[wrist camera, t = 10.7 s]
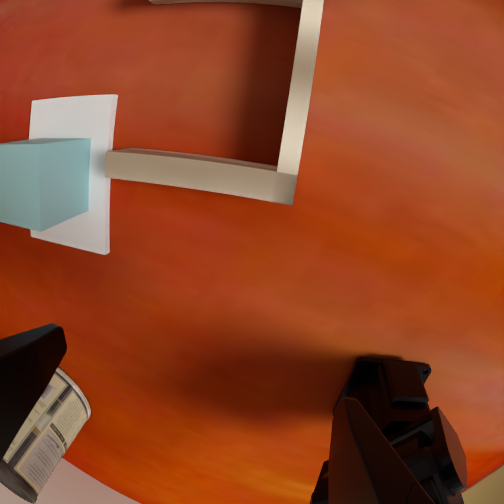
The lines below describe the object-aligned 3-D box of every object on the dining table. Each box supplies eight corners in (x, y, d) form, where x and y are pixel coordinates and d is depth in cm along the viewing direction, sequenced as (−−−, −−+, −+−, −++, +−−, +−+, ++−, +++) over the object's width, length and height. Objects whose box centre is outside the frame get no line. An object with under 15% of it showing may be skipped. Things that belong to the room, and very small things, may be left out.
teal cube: (88, 210, 20) (41, 232, 15) (40, 202, 20) (-6, 220, 16) (91, 138, 18) (40, 144, 14) (41, 137, 19) (-8, 144, 14)
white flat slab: (109, 252, 22) (105, 255, 21) (35, 234, 22) (31, 236, 22) (118, 95, 18) (113, 94, 17) (37, 100, 18) (32, 100, 18)
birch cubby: (293, 194, 18) (292, 205, 16) (129, 170, 19) (104, 177, 16) (324, -8, 14) (327, -31, 11) (159, -13, 15) (139, -31, 12)
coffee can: (44, 408, 32) (-9, 477, 19) (13, 346, 28) (-59, 416, 15) (103, 430, 30) (51, 517, 17) (73, 365, 27) (-6, 461, 14)
